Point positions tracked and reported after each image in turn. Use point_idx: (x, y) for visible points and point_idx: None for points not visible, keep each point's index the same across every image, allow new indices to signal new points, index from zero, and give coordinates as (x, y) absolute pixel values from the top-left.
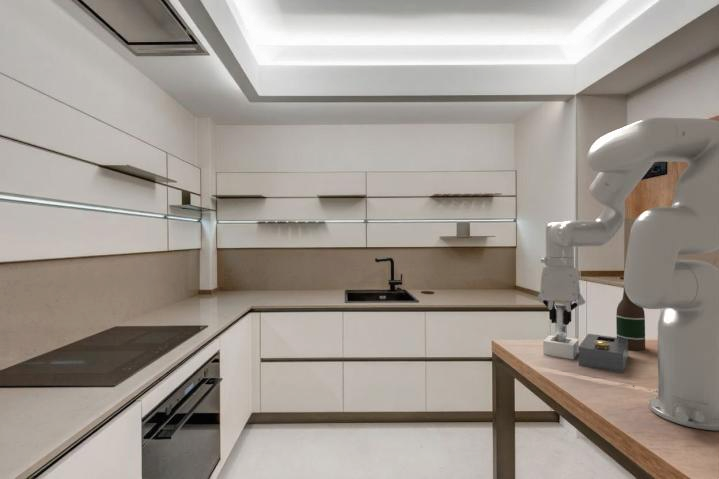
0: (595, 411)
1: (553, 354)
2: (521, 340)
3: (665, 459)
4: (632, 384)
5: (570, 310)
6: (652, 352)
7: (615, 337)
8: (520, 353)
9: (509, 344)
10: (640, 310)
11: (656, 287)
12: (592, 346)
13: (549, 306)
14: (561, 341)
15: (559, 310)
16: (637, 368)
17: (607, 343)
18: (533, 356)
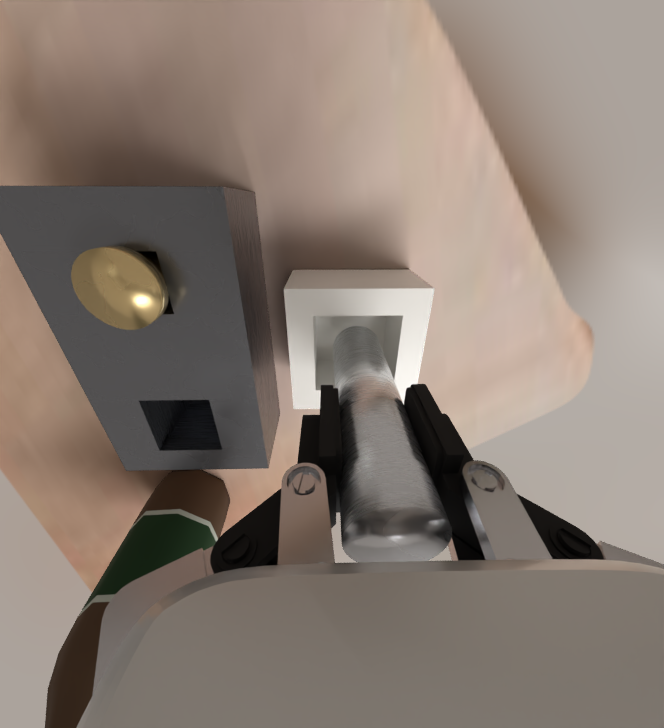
0: None
1: (372, 274)
2: (498, 428)
3: None
4: (8, 96)
5: (287, 476)
6: None
7: (168, 467)
8: (505, 266)
9: (545, 362)
10: (60, 658)
11: None
12: (170, 257)
13: (497, 494)
14: (350, 335)
15: (389, 463)
16: None
17: (78, 275)
18: (449, 256)
